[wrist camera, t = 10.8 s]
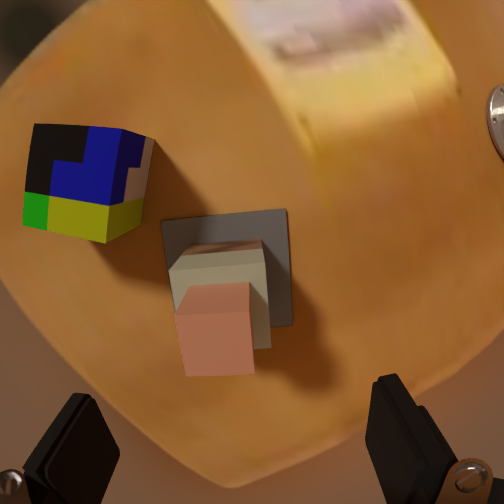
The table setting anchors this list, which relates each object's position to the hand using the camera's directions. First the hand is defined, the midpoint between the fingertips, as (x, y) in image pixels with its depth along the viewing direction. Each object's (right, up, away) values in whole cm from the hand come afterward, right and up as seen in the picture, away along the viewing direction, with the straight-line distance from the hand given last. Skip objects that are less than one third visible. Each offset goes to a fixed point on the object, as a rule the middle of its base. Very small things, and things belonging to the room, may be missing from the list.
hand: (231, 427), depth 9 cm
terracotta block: (-2, +1, +18) cm, 18 cm away
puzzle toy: (-16, +14, +26) cm, 34 cm away
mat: (-2, +3, +28) cm, 28 cm away
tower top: (-2, +2, +23) cm, 23 cm away
